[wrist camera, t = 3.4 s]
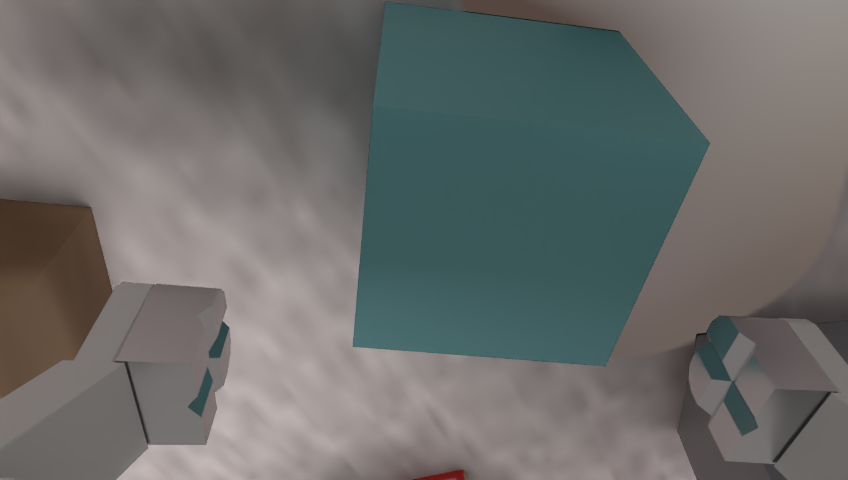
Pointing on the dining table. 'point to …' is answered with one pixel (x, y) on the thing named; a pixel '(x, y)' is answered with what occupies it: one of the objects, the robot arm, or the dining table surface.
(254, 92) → the dining table surface
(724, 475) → the charcoal cube
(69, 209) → the walnut cube
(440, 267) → the teal cube
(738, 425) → the robot arm
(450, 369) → the dining table surface
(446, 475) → the stack of blocks
